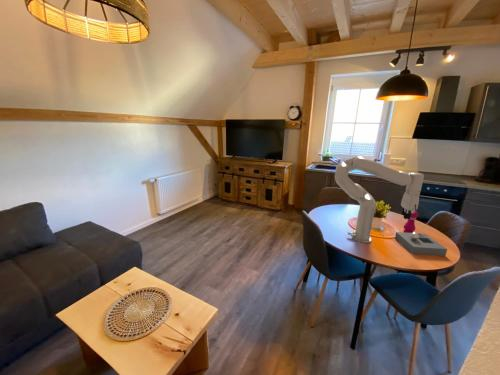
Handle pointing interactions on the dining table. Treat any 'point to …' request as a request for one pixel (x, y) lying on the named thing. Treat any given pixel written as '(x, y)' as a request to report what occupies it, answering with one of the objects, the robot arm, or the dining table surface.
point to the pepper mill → (410, 223)
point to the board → (421, 244)
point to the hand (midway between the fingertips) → (406, 218)
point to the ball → (414, 236)
